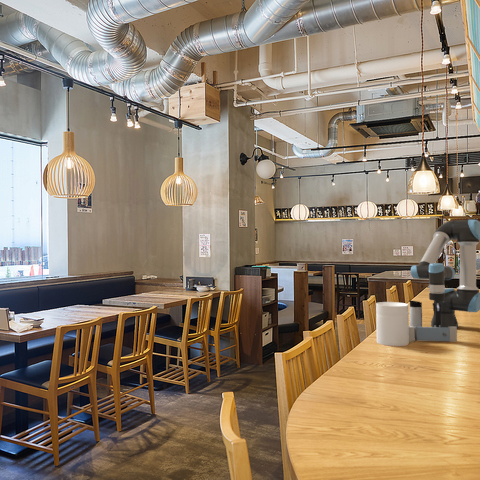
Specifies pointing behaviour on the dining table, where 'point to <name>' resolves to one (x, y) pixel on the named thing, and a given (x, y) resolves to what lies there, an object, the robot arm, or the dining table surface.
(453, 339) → the wall stub
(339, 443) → the dining table surface
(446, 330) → the door
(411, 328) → the door post
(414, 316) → the travel mug
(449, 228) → the robot arm
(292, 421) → the dining table surface
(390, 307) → the canister
